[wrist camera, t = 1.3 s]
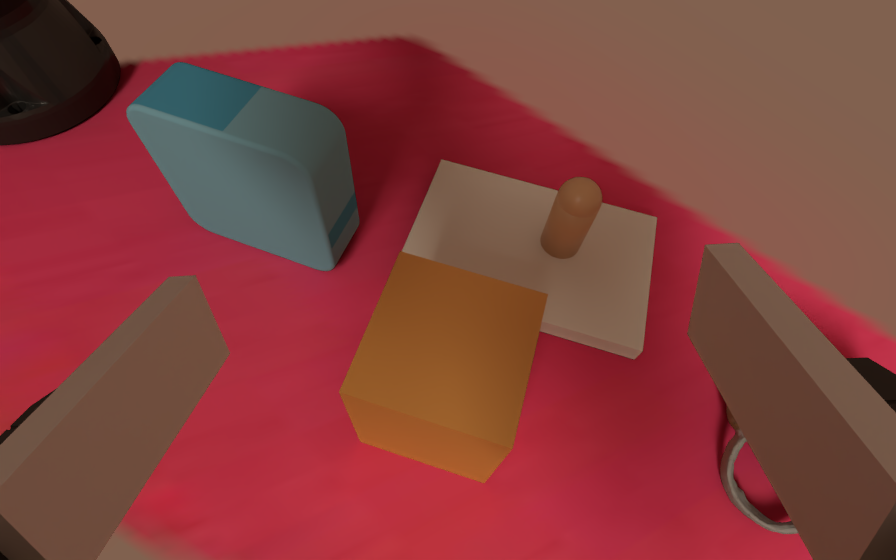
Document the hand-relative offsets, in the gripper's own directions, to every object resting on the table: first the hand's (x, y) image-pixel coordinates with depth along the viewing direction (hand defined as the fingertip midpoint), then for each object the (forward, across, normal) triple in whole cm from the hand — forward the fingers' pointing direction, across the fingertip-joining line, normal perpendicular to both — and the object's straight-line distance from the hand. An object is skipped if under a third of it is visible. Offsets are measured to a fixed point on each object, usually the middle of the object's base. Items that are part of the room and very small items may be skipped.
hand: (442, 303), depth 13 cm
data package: (+23, -15, -8) cm, 29 cm away
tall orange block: (+12, -3, -16) cm, 20 cm away
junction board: (+23, +4, -12) cm, 26 cm away
